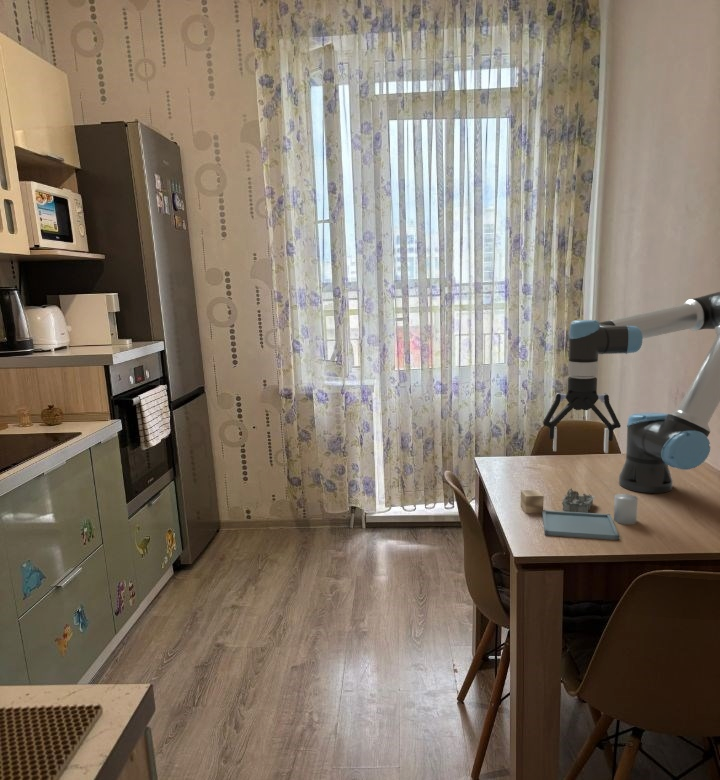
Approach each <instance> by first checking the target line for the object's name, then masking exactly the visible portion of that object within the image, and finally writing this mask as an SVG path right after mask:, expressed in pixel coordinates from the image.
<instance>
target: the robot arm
mask: <svg viewBox="0 0 720 780" xmlns="http://www.w3.org/2000/svg"><path fill="white" fill-rule="evenodd" d="M686 330H691V331H693V332H694V331H695V332H696V331H700V330H714V331H715V333H716V338H714V341H713V343H712V344H711V347H710V349H709V350H708V352H707V354H706V356H705V357H704V359H703V362H702V364H701V365H700V367H699V369H698V371H697V372H696V374H695V376H694V378H693V380H692V381H691V383H690V386H689V387H688V389H687V390H686V393H685V395H684V396H683V398H682V400H681V402H680V404H679V406H678V408H677V409H676V410H675V411H672V412H668V413H660V412H642V413H639V412H638V413H633V414H630V415H629V417H628V418H627V423H626V424H627V425H626V427H627V429H626V432H627V433H626V451H625V452H626V453H625V454H626V457H625V461H624V464H623V466H622V469H621V471H620V473H619V477H618V484H619V486H621V487H622V488H624V489H627V490H630V491H634V492H638V493H645V494H661V493H662V494H663V493H664V494H665V493H667V492H670V491H672V490H673V483H674V482H673V478H672V475H671V472H670V468H669V467H671V468H676V469H679V470H683V471H684V470H685V471H686V470H691V469H695V468H697V467H699V466H701V465H702V464H703V463H704V462H705V461H706V460H707V459H708V457H709V455H710V452H711V446H710V444H711V442H710V439H709V438H708V437H709V436H710V434H711V429H710V426H709V424H710V423H709V422H710V420H711V419H712V417H713V415H714V413H715V412H716V409H717V407H718V406H719V404H720V291H717V292H714V293H710V294H706V295H703V296H698V297H693V298H690V299H687V300H686V301H685V302H684V303H683V304H679V305H675V306H669V307H664V308H660V309H655V310H651V311H646V312H642V313H638V314H633V315H629V316H628V315H627V316H624V317H620V318H619V317H618V318H613V319H609V320H607V321H601V322H599V321H598V320H597V319H577V320H573V321H571V322H570V325H569V333H568V334H569V335H568V372H567V373H568V376H569V377H568V378H567V392H566V394H565V393H560V392H556V393H555V397H554V398H555V399H554V400H553V402H552V405H551V407H550V408H549V410H548V411H547V413H546V416H545V417H544V419H543V421H542V425H543V426H545V427H547V428H549V432H548V435H549V436H548V437H549V439H550V440H553V442H552V449H553V450H552V451H553V452H557V443H558V442H557V440H558V429H557V425H558V424H559V423H560V422H561V421H562V419H564V418H565V417H566V416H567V415H568V414H569V413H570V412H571V411H572V410H573V409H574V410H576V411H582V410H583V411H589V410H590V409H591V410H592V411H593V412H594V414H596V416H597V417H598V418H599V419H600V420H601V421H602V423H603V424H604V425H605V426H606V427H604V431H603V432H604V435H603V452H604V454H609V442H612V441H613V440H614V439H613V438H614V430H615V429H619V428H621V423H620V421H619V419H618V417H617V415H616V413H615V411H614V409H613V407H612V405H611V403H610V396H609V395H608V394H607V393H606V392H605V393H603V394H598V392H597V391H598V388H597V387H598V378H597V377H596V376H598V363H599V355H610V354H613V355H614V354H616V355H618V354H625V355H627V354H634V353H637V352H639V350H640V349H641V348H642V345H643V339H644V340H645V339H647V338H652V337H659V336H662V335H667V334H671V333H675V332H681V331H686ZM564 399H566V401H567V402H568V403H567V404H566V405H565V407H564V408H563V409H562V410H561V411H560V412H559V413H558V414H557V415H555V417H554V418H553V416H554V414H555V413H556V411H557V409H558V407H559V406H560V404H561V402H563V401H564ZM598 400H600V401H601V403H603V404H604V406H605V408H606V410H607V412H608V415H609V416H610V418H611V420H612V423H611V422H610V421H609V420H608V419H607V418H606V416H605V415H604V414H603V413H602V412H601V410H599V408H598V407H597V405H596V403H597V401H598ZM552 418H553V419H552ZM551 419H552V420H551Z"/></svg>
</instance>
